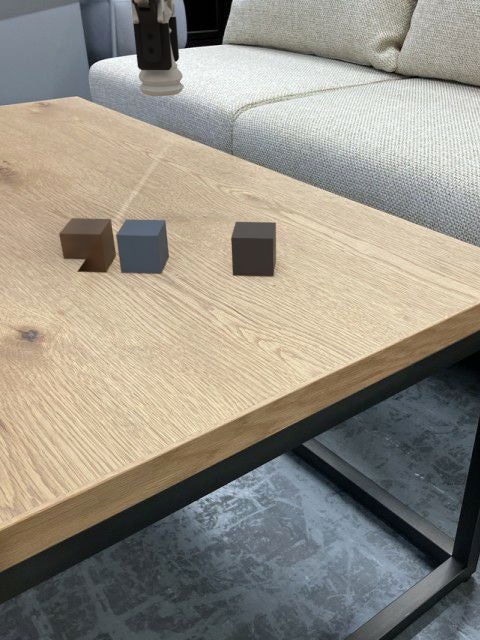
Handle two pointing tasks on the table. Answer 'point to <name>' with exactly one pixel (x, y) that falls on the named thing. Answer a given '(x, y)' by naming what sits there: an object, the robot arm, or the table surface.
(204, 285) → the table surface
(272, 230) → the block
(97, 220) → the block
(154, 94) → the rook chess piece
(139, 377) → the table surface
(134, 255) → the block
